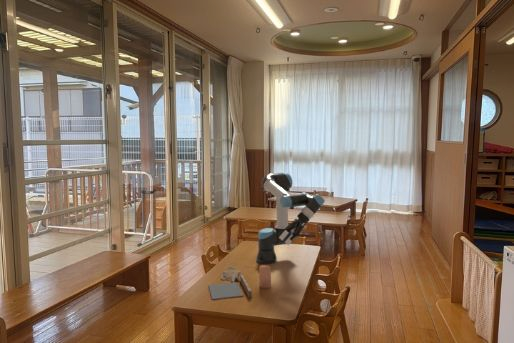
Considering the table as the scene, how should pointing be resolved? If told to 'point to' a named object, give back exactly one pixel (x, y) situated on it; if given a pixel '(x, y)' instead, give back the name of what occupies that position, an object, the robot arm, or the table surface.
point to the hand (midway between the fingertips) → (283, 241)
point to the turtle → (231, 274)
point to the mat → (225, 291)
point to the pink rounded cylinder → (265, 276)
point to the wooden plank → (246, 286)
